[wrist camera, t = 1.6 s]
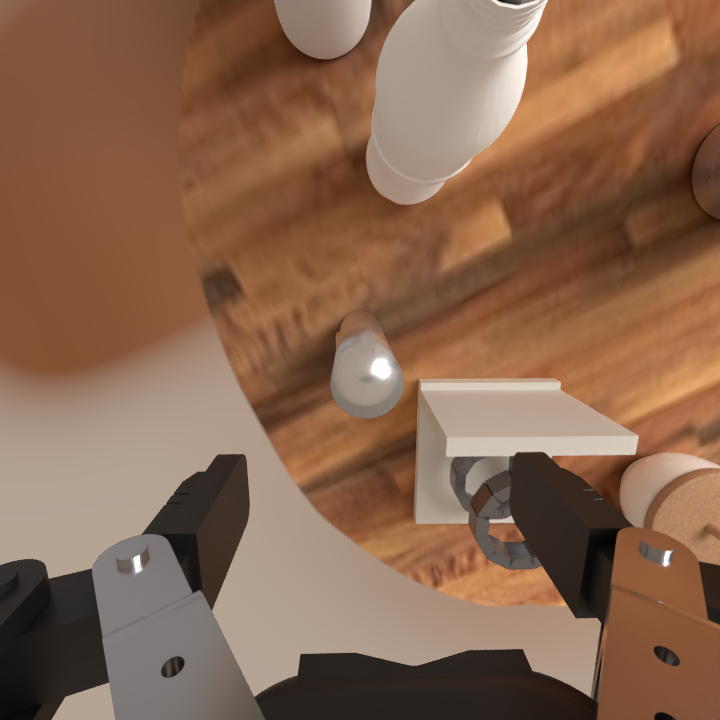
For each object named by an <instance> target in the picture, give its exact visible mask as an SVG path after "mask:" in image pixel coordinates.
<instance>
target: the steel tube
mask: <svg viewBox="0 0 720 720" xmlns="http://www.w3.org/2000/svg"><path fill="white" fill-rule="evenodd" d="M330 385H331V392H332V395H333V398H334V400H335V401H336V403H337V404H338V406H339V407H340V408H341V409H342V410H344V411H345V412H346V413H348V414H350V415H352V416H355V417H358V418H366V419H368V418H375V417H379V416H382V415H384V414H386V413H387V412H389V411H390V410H391V409H392V408H393V407H394V406H395V405H396V404H397V403H398V401H399V399H400V397H401V395H402V392H403V386H404V379H403V374H402V371H401V369H400V367H399V365H398V362H397V360H396V358H395V356H394V354H393V352H392V350H391V348H390V346H389V343H388V341H387V339H386V337H385V335H384V333H383V331H382V329H381V326H380V324H379V322H378V320H377V319H376V318H375V317H374V316H373V315H372V314H370V313H368V312H366V311H355V312H352V313H350V314H349V315H347V316H346V317H345V318H344V320H343V322H342V324H341V328H340V332H337V333H336V354H335V360H334V365H333V370H332V376H331V384H330Z"/></svg>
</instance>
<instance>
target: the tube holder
mask: <svg viewBox="0 0 720 720" xmlns="http://www.w3.org/2000/svg"><path fill="white" fill-rule="evenodd" d="M560 386H561V382H560V381H558V380H556V379H554V378H477V379H419V383H418V410H417V438H416V465H415V493H414V519H415V523H416V524H461V523H468V518H469V512H467V511H465V509H463V507H462V505H461V504H460V502H459V500H458V498H457V497H456V495H455V493H454V491H453V489H452V486H451V484H450V466H451V464H452V463H451V462H452V460H453V459H454V457H461V456H487V457H485V458H483V459H481V460H479V461H477V462H475V464H474V465H473V467H472V468H471V470H470V471H469V472H468V474H467V475H466V484H465V490H466V492H468V493H469V494H471V495H473V496H474V494H475V493H476V492H477V490H478V489H479V487H480V486H481V485H482V483H483V482H485V480H487V479H489V478H491V477H493V476H495V475H497V474H499V473H501V472H503V471H505V470H507V471H508V467H509V457H510V456H515V454H516V453H517V452H544V453H546V454H547V455H548V456H549V457H550V458H552V456H565V455H635V454H636V448H637V443H638V437H639V436H638V435H636V434H635V433H633V432H631V431H629V430H628V429H626V428H624V427H623V426H621V425H619V424H618V423H616V422H614V421H613V420H611V419H609V418H608V417H606V416H604V415H602V414H601V413H599V412H597V411H596V410H594V409H592V408H591V407H589V406H587V405H586V404H584V403H582V402H581V401H579V400H577V399H575V398H574V397H572V396H570V395H569V394H567V393H565V392H564V391H562V390H560ZM485 483H486V482H485ZM489 523H515V522H514V521H513V518H512V516H510V517H508V518H506V519H504V518H503V519H491V520H489Z"/></svg>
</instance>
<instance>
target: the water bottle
mask: <svg viewBox="0 0 720 720" xmlns="http://www.w3.org/2000/svg"><path fill="white" fill-rule="evenodd" d="M547 1H548V0H415V1H414V2H413V3H412V4H411V5H410V6H409V7H408V8H407V9H406V10H405V11H404V12H403V13H402V14H401V16H400V17H399V19H398V20H397V21H396V23H395V24H394V26H393V27H392V29H391V31H390V32H389V35H388V37H387V39H386V41H385V43H384V45H383V48H382V51H381V54H380V57H379V62H378V67H377V71H376V87H375V89H376V97H375V103H374V107H373V113H372V134H371V136H370V139H369V141H368V145H367V151H366V166H367V171H368V175H369V178H370V180H371V182H372V184H373V186H374V187H375V189H376V190H377V191H378V192H379V194H381V195H382V196H384V197H386V198H387V199H389V200H391V201H392V202H394V203H396V204H402V205H412V204H417V203H420V202H422V201H425V200H427V199H428V198H430V197H432V196H433V195H434V194H435V193H437V192H438V191H439V189H440V188H441V187H442V186H443V185H444V183H445V181H446V180H448V179H450V178H452V177H453V176H455V175H456V174H458V173H459V172H460V171H462V170H463V169H464V168H465V167H466V166H467V165H468V164H469V162H470V161H471V160H472V158H473V157H474V156H476V155H477V154H479V153H480V152H482V151H484V150H485V149H486V148H488V147H489V146H490V145H491V144H492V143H493V142H494V141H495V140H496V139H497V138H498V137H499V135H500V134H501V133H502V132H503V131H504V129H505V128H506V126H507V125H508V123H509V122H510V120H511V119H512V117H513V114H514V112H515V110H516V108H517V106H518V104H519V101H520V99H521V95H522V92H523V88H524V85H525V78H526V70H527V46H526V42H527V41H528V40H529V38H530V37H531V36H532V35H533V33H534V31H535V29H536V28H537V26H538V23H539V21H540V18H541V16H542V12H543V10H544V7H545V4H546V3H547Z"/></svg>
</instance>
